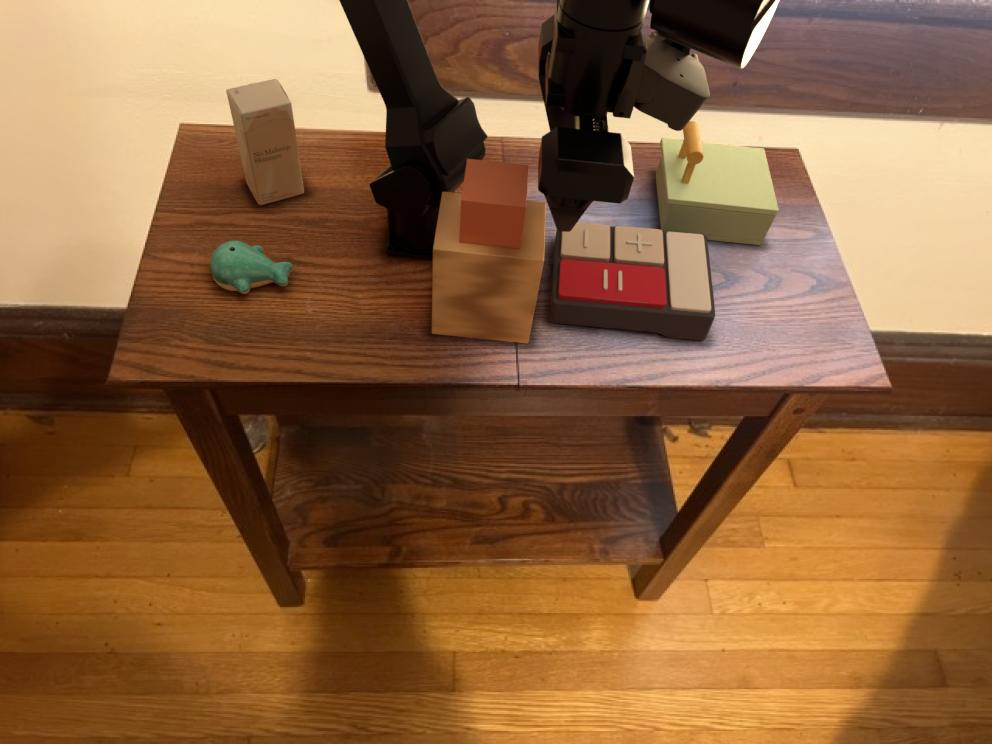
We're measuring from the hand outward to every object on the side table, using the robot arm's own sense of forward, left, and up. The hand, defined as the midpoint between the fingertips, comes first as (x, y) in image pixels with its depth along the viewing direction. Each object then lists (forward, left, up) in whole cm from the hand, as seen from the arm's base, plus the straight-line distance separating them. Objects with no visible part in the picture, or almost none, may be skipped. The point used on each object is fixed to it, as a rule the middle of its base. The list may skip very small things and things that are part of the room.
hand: (562, 191), depth 61 cm
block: (-6, -3, -2) cm, 7 cm away
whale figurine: (-28, -2, -13) cm, 31 cm away
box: (-29, +11, -13) cm, 34 cm away
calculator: (+8, +2, -13) cm, 16 cm away
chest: (+18, +15, -13) cm, 27 cm away
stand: (-6, -3, -13) cm, 15 cm away
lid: (+18, +15, -9) cm, 25 cm away
